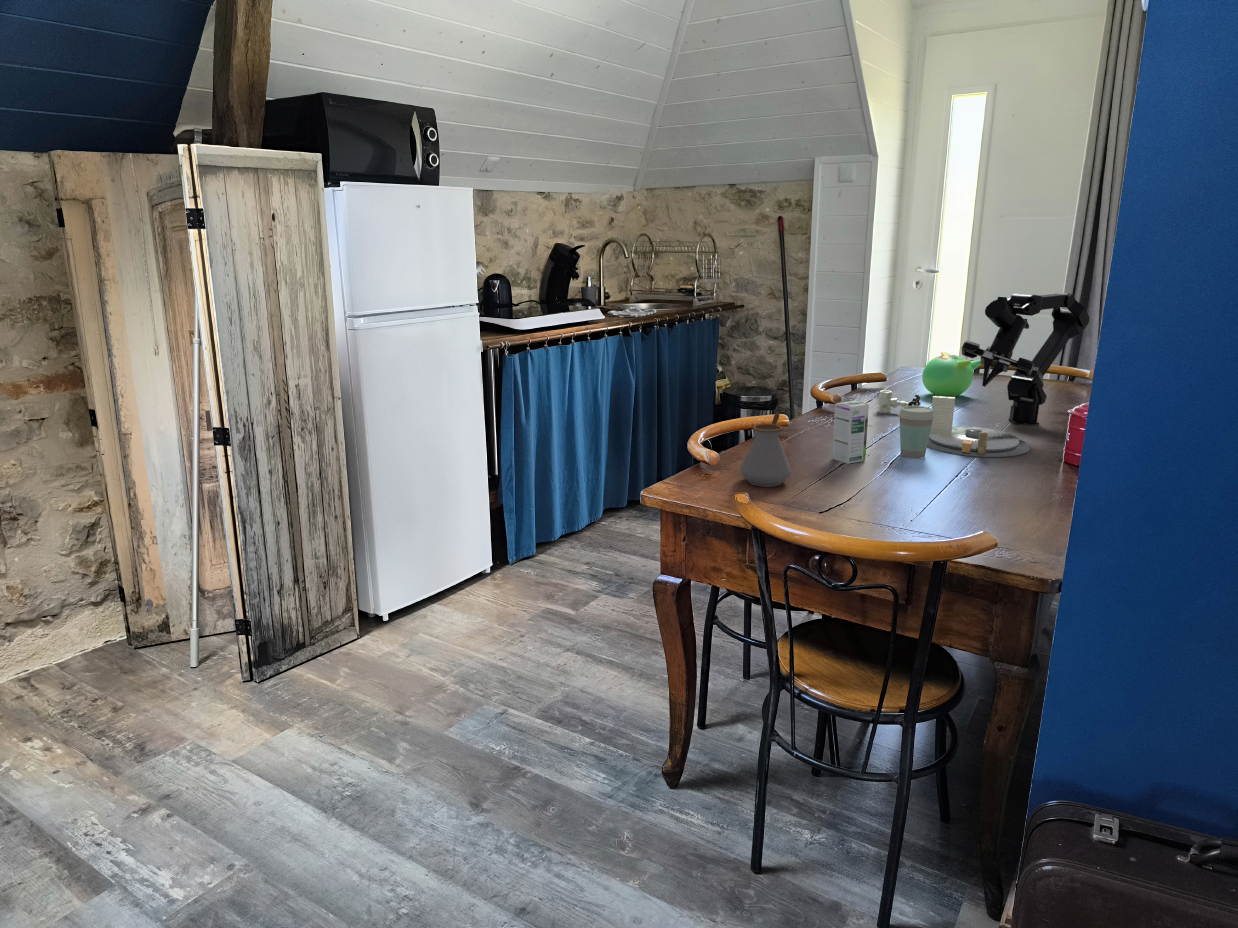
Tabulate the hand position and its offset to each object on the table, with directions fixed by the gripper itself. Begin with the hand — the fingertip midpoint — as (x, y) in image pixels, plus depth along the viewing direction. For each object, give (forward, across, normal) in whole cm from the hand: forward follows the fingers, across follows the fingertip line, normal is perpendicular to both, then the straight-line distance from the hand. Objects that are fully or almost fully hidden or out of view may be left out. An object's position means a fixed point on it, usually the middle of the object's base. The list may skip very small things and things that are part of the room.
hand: (983, 386), depth 228 cm
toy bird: (-7, +15, -50) cm, 52 cm away
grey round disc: (+18, -5, +6) cm, 19 cm away
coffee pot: (+52, +28, +51) cm, 78 cm away
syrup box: (+39, +17, +32) cm, 53 cm away
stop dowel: (+22, -9, +17) cm, 30 cm away
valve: (+11, +22, -20) cm, 32 cm away
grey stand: (+17, -5, +8) cm, 19 cm away
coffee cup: (+30, +5, +23) cm, 38 cm away
